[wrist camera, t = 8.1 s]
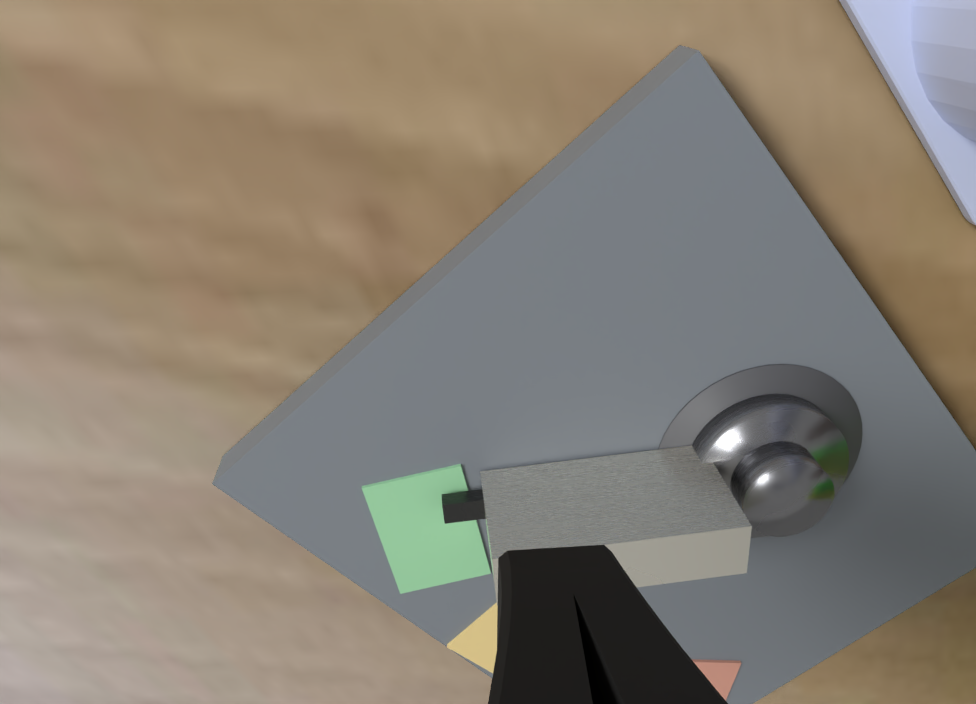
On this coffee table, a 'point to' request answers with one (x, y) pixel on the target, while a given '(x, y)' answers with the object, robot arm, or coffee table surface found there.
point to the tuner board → (627, 393)
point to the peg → (673, 495)
